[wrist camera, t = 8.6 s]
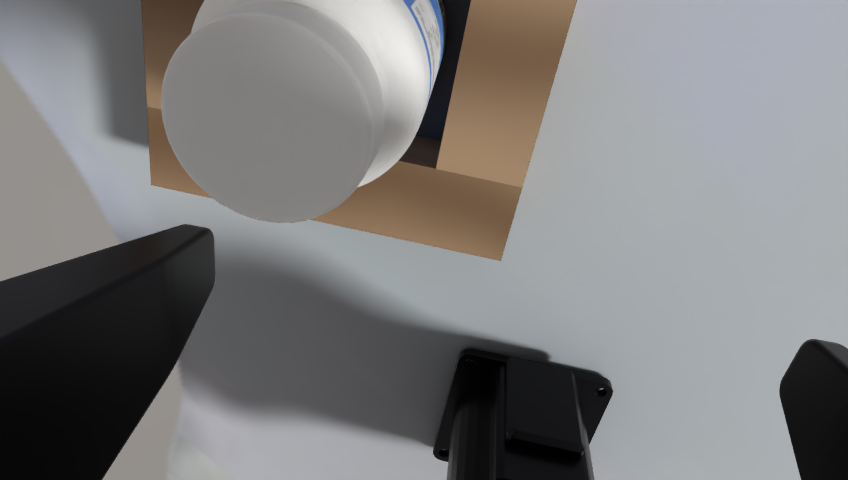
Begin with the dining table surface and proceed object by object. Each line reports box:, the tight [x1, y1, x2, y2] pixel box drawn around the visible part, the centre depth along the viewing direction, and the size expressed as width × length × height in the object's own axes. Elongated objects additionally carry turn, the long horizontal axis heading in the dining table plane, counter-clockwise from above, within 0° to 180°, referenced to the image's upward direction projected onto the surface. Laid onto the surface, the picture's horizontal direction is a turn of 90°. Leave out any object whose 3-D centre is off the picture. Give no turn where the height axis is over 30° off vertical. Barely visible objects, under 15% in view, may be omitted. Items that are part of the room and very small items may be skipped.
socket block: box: [141, 0, 577, 261], centre depth 18 cm, size 12×12×2 cm
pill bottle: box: [161, 0, 447, 223], centre depth 15 cm, size 6×5×10 cm
